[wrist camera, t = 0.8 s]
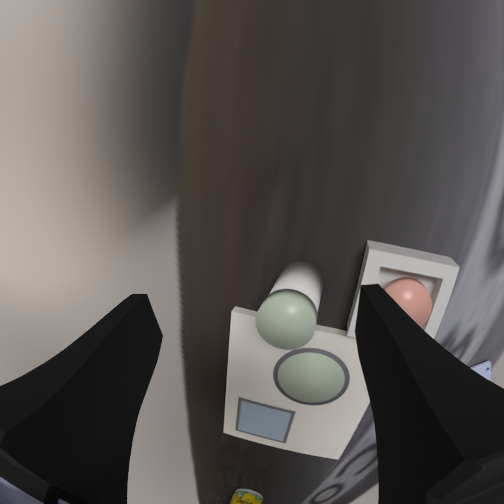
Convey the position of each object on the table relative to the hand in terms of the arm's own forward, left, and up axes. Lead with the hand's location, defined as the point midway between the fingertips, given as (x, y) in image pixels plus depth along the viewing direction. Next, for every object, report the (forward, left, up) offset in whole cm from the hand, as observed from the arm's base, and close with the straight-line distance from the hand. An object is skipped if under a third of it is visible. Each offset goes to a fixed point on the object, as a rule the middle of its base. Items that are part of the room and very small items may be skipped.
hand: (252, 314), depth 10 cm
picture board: (-19, +8, -17) cm, 26 cm away
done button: (-9, -5, -15) cm, 18 cm away
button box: (-9, -5, -17) cm, 20 cm away
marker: (-5, +3, -17) cm, 18 cm away
